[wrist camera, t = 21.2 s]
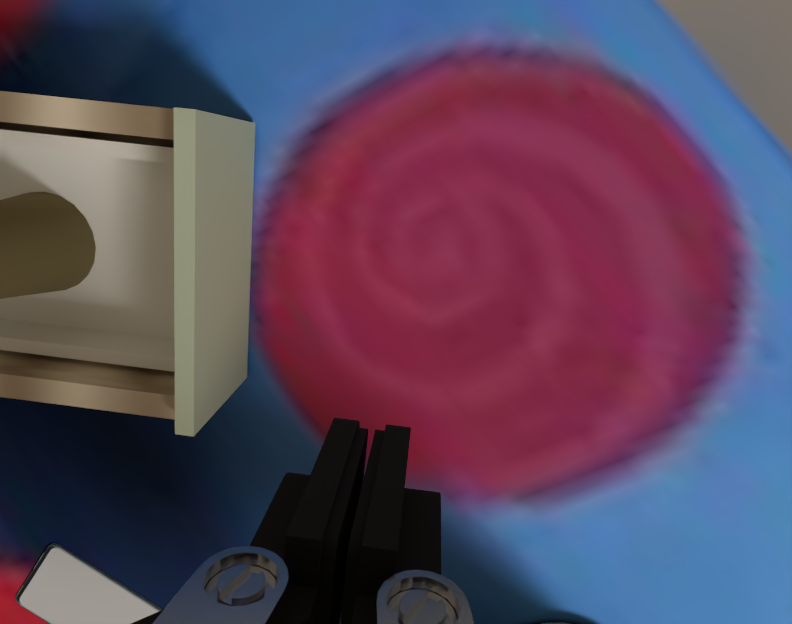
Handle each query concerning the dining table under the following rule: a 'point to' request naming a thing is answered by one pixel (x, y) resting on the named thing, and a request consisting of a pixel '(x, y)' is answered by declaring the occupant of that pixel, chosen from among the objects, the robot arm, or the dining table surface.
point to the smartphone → (79, 593)
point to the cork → (42, 245)
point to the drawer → (147, 255)
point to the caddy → (71, 376)
